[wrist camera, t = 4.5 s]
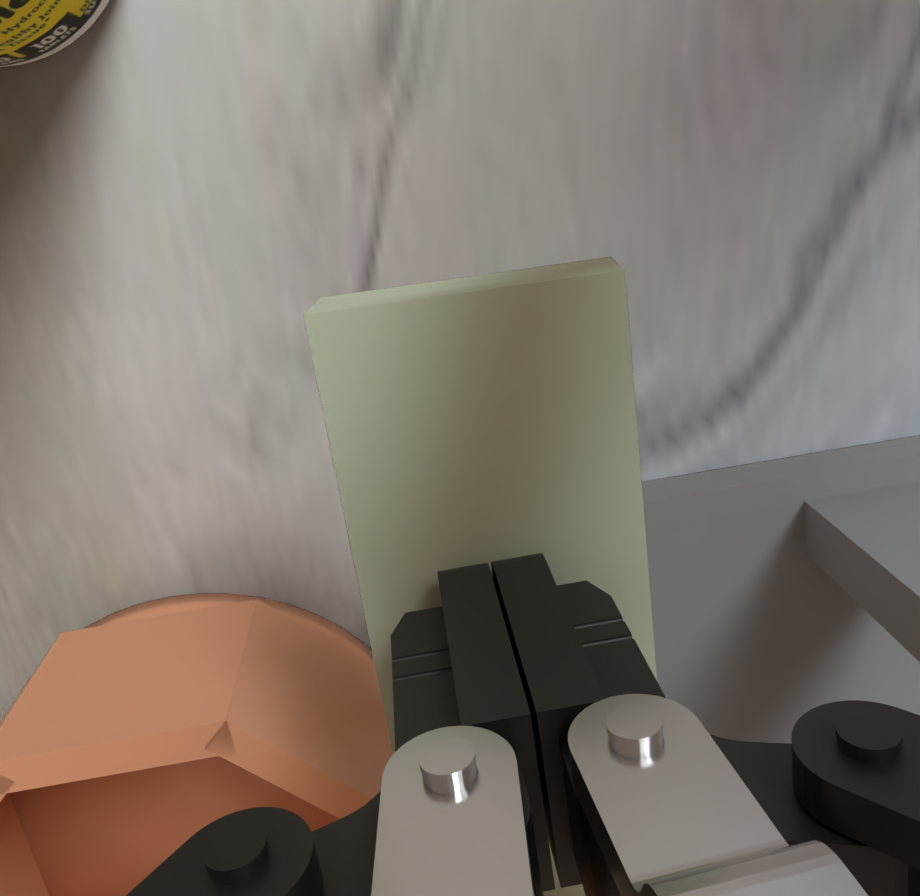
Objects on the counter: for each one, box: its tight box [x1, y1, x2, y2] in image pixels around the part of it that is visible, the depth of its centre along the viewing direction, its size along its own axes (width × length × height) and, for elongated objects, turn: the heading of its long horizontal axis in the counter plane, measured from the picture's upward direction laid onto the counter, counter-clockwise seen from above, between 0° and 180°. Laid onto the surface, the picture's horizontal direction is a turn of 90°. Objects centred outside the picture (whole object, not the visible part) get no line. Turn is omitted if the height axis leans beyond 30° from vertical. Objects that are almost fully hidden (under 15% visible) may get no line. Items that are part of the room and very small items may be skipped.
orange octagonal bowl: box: [0, 593, 393, 896], centre depth 22 cm, size 12×12×6 cm
